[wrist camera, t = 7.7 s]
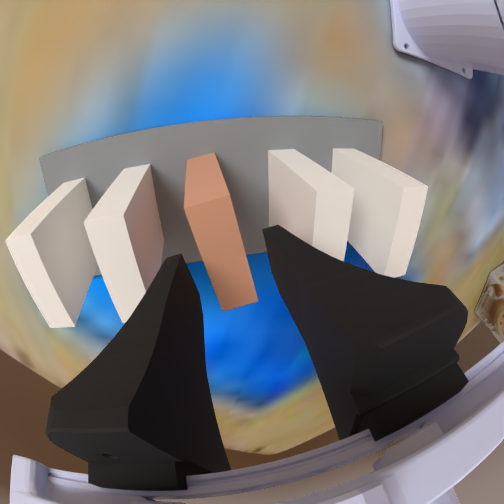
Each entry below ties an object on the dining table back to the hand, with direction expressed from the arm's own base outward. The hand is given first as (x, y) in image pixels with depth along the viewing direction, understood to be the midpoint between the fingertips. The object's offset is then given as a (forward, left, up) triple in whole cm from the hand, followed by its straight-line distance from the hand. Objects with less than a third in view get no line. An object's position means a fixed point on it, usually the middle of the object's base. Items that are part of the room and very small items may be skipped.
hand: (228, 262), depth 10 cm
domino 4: (-4, 0, -7) cm, 8 cm away
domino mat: (0, 0, -8) cm, 8 cm away
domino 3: (0, 0, -7) cm, 7 cm away
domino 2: (+4, 0, -7) cm, 8 cm away
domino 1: (+8, 0, -7) cm, 11 cm away
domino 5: (-8, 0, -7) cm, 11 cm away
